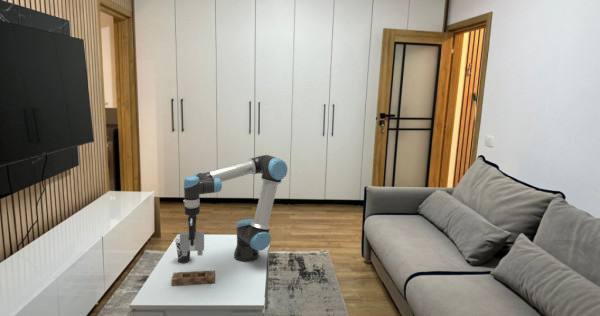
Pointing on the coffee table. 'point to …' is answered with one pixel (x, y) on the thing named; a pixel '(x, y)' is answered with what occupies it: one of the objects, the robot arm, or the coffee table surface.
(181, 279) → the rail
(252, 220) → the robot arm
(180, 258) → the coffee cup
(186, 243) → the grey flat block
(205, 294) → the coffee table surface
